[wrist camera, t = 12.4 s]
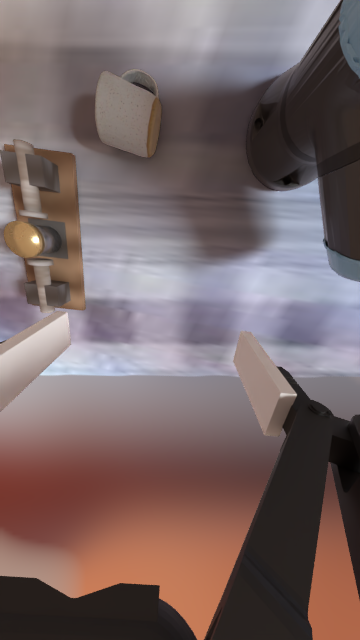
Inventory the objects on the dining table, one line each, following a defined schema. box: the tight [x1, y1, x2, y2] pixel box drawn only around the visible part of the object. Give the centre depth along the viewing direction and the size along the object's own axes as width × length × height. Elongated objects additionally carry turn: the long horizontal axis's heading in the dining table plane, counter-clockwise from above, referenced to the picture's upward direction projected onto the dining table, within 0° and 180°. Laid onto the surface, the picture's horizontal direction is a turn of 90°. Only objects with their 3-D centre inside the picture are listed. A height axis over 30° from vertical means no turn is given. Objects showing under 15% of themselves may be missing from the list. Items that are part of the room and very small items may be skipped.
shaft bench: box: [0, 140, 86, 313], centre depth 36 cm, size 28×11×7 cm, turn 173°
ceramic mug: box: [95, 69, 162, 158], centre depth 29 cm, size 11×8×8 cm
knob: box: [4, 221, 62, 258], centre depth 35 cm, size 5×5×7 cm
